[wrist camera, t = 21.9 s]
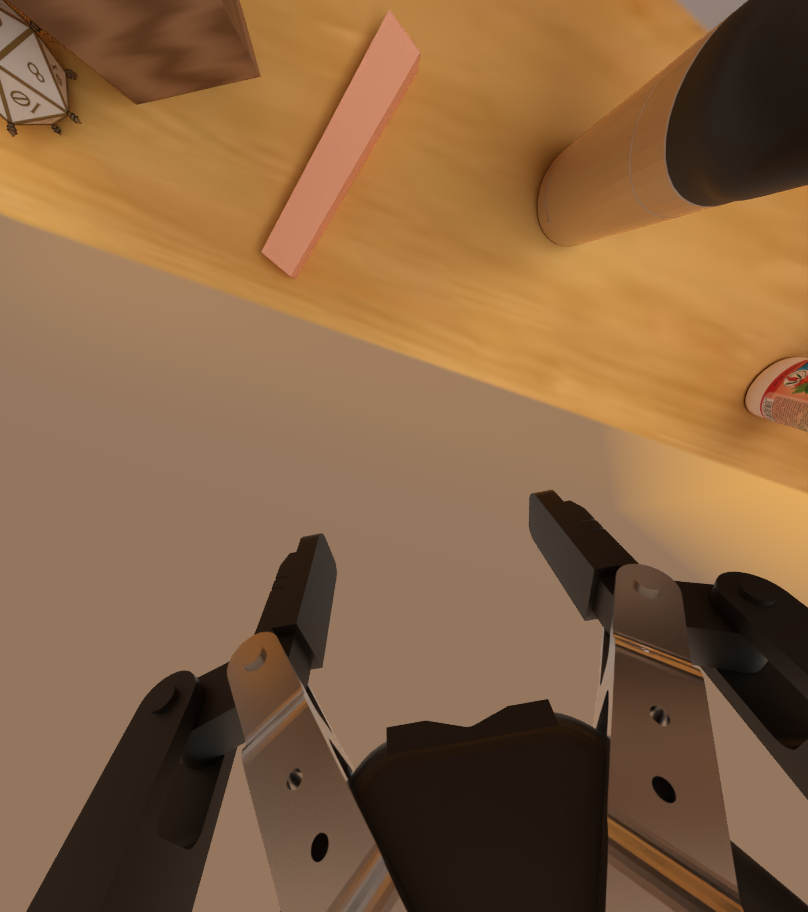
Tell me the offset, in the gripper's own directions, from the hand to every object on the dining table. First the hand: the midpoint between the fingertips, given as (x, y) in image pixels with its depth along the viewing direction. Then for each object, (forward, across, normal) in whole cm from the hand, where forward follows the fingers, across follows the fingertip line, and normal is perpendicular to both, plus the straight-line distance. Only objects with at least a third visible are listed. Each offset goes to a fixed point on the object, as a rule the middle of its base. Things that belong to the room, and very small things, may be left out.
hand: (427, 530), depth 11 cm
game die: (+33, +26, -30) cm, 52 cm away
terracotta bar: (+34, +2, -20) cm, 39 cm away
